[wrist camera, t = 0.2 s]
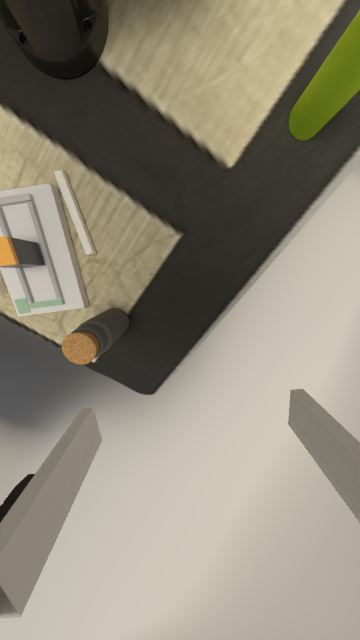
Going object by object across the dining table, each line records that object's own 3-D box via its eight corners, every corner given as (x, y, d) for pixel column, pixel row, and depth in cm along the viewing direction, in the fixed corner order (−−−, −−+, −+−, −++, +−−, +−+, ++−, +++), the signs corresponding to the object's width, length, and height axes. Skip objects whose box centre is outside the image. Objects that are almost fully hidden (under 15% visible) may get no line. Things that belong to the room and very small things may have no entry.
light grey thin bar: (59, 176, 32) (53, 172, 30) (66, 173, 32) (61, 169, 30) (89, 255, 35) (86, 254, 34) (96, 253, 35) (92, 252, 34)
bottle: (106, 335, 40) (64, 370, 25) (99, 309, 38) (51, 332, 24) (132, 331, 39) (104, 365, 25) (126, 306, 38) (93, 326, 23)
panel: (-16, 200, 33) (-34, 193, 30) (57, 188, 32) (46, 181, 30) (26, 314, 38) (14, 317, 36) (89, 306, 38) (82, 308, 35)
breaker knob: (16, 245, 32) (-20, 239, 27) (37, 242, 32) (6, 236, 26) (24, 268, 33) (-9, 267, 28) (44, 265, 33) (16, 263, 27)
